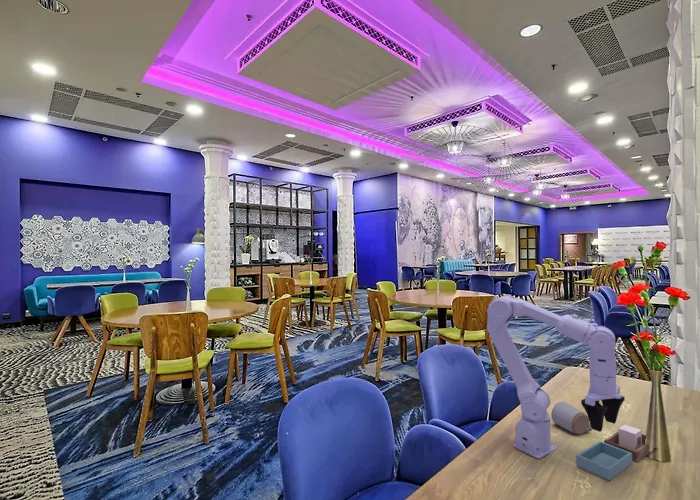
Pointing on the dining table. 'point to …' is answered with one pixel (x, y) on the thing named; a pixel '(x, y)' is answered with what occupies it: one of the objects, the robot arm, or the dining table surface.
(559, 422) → the ceramic mug
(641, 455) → the walnut tray
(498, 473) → the dining table surface
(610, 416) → the robot arm
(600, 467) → the teal tray
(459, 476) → the dining table surface
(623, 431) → the letter block
